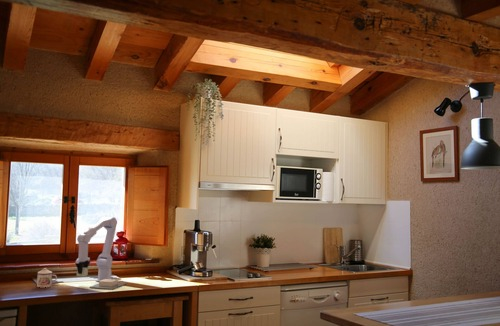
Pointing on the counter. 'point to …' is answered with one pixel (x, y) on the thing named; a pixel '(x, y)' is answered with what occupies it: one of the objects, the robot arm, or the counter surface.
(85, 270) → the sage cube
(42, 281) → the teacup with lid
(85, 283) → the counter surface
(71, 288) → the counter surface
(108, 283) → the stacking base
